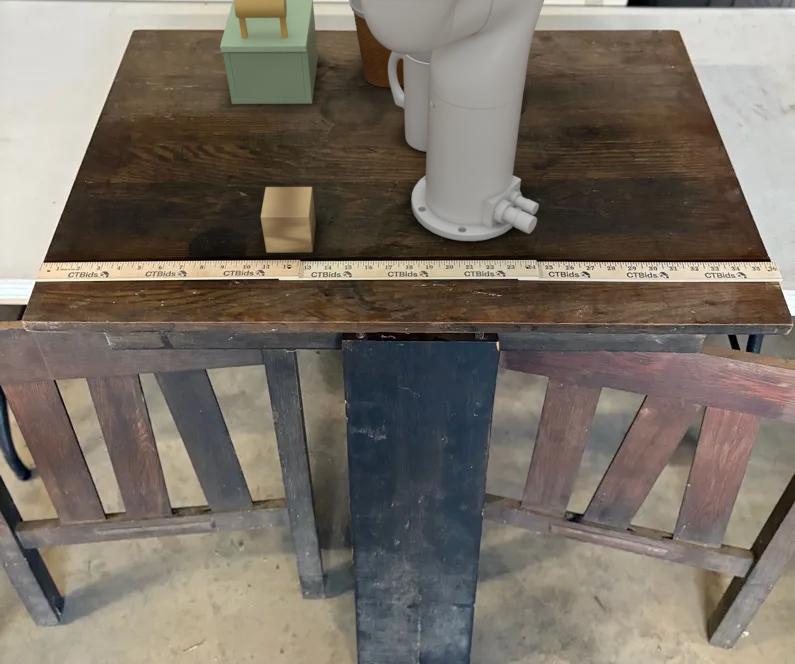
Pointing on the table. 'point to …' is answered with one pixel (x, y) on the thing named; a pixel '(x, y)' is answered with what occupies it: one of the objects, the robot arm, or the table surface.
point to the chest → (273, 75)
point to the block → (288, 219)
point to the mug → (412, 95)
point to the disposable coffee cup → (373, 52)
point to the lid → (267, 26)
